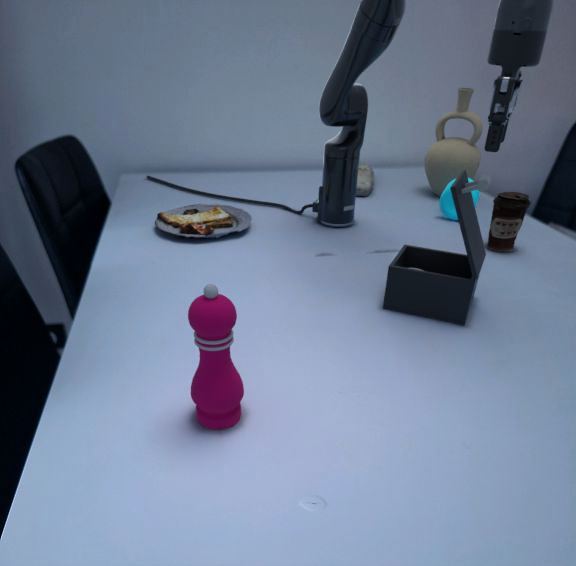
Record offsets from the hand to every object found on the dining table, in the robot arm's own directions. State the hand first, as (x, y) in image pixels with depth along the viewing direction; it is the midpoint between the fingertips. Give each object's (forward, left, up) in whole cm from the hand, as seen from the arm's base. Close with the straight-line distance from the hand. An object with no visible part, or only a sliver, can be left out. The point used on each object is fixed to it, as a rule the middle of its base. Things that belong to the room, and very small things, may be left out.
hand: (494, 146), depth 87 cm
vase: (-16, +82, -30) cm, 88 cm away
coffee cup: (+4, +39, -30) cm, 49 cm away
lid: (-2, 0, -13) cm, 13 cm away
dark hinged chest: (-6, 0, -30) cm, 30 cm away
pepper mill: (-26, -49, -30) cm, 63 cm away
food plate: (-69, +19, -30) cm, 77 cm away
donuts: (-10, +60, -30) cm, 68 cm away
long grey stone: (-45, +82, -30) cm, 98 cm away
